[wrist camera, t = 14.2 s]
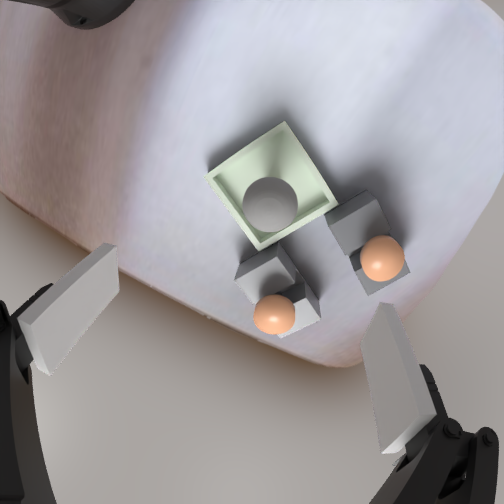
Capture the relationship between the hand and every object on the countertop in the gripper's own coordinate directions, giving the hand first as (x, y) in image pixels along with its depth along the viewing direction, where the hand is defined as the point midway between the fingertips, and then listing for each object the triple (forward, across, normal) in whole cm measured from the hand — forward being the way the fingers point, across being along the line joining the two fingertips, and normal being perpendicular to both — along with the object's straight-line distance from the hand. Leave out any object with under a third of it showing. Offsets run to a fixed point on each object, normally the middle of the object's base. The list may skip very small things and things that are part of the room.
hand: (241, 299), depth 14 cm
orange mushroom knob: (+22, +14, -4) cm, 26 cm away
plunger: (+22, +3, -14) cm, 26 cm away
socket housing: (+25, +9, -9) cm, 28 cm away
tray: (+25, 0, 0) cm, 25 cm away
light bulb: (+24, 0, 0) cm, 24 cm away
